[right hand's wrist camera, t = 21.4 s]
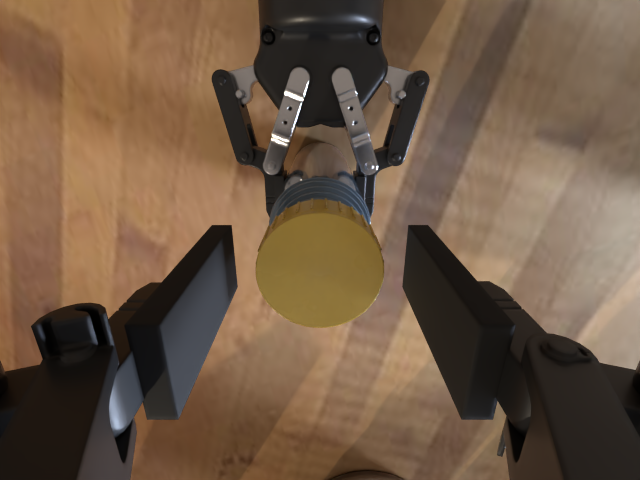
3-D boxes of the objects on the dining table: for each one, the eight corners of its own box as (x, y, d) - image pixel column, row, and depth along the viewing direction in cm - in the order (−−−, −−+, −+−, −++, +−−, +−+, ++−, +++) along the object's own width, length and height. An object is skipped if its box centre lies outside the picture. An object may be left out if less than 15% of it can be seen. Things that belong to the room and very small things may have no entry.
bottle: (324, 130, 30) (331, 172, 12) (358, 175, 32) (411, 274, 13) (280, 166, 31) (225, 256, 13) (315, 208, 33) (310, 341, 15)
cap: (380, 196, 13) (389, 210, 12) (375, 303, 15) (382, 328, 13) (257, 198, 13) (248, 212, 12) (266, 304, 15) (259, 330, 13)
